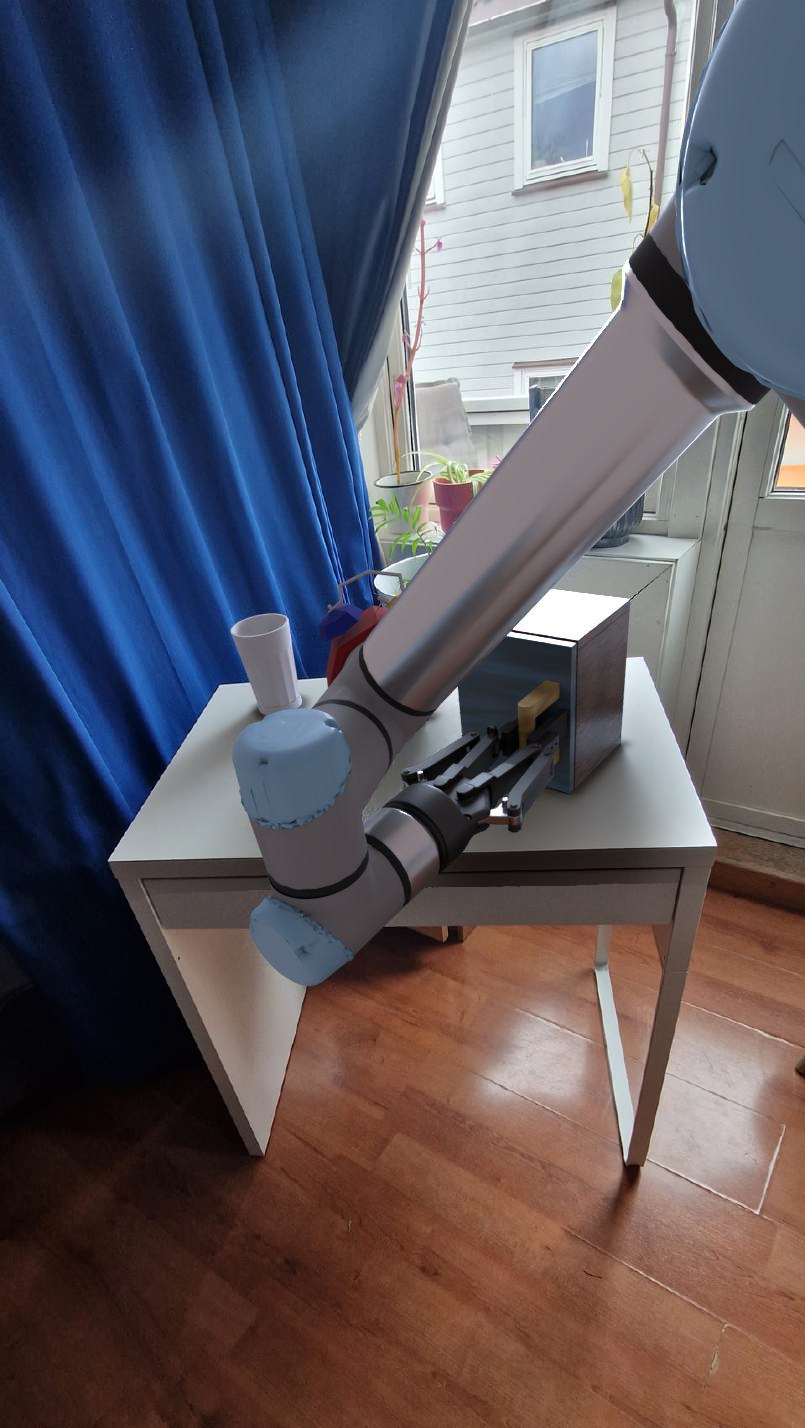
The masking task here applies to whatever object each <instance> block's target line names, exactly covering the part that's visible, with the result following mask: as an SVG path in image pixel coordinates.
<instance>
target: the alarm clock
mask: <svg viewBox="0 0 805 1428" xmlns="http://www.w3.org/2000/svg"><path fill="white" fill-rule="evenodd" d="M370 574H371V575H378V576H387V577H395V578H396V577H397V578H398V582H399V586H400V591H401V592H402V591H403V590H404V588H405V583H404V579H403V575H402V574H403V573H400V572H391V571H384V570H383V571H382V570H376V569H375V570H374V569H367V570H365V571H363V572H361V573H359V574H357V575H354V576H353V577H351V578H349V579H347V580H345V581H343V582H341V583H339V584H337V592H338V601H337V602H336V603H335V604H334V605H333V606H332V605H331V604H328V605H327V608H328V611H327V613H326V614H324V615H323V616H322V618H321V620H320V622H319V624H318V626H319V628H318V630H319V639H320V640H322V641H325V642H329V641H331V645H330V650H329V655H328V661H327V666H326V671H325V676H326V684H327V688H328V687H329V686H330V685H331V684H332V682H333V681H334V680H335V679H336V677H337V676H338V674H339V673H340V672H341V671H342V669H343V668H344V667H345V665H346V664H347V663H348V662H349V660H350V659H351V658H352V656H353V655H354V654H355V653H356V651H357V650H358V649H359V648H360V647H361V646H362V644H363V643H364V642H365V641H366V639H367V637H368V636H369V634H370V633H371V632H372V631H373V629H374V628H375V627H376V625H377V624H378V623H379V621H380V620H381V619H382V617H383V616H384V615H385V613H386V612H387V611H388V609H389V608H390V607H391V606H392V604H393V603H394V602H395V600H396V599H397V598H398V596H399V595H400V594H401V592H398V593H396V595H394V596H393V597H392V598H391V599H388V598H386V597H384V596H383V595H381V594H379V595H378V596H377V600H378V601H380V602H379V605H371V606H369V607H368V608H366V609H365V610H364V609H362V608H359V607H357V606H355V605H354V604H351V603H348V602H344V598H343V597H344V596H343V589H342V588H343V587H345V586H347V585H349V584H351V583H353V582H355V581H357V580H359V579H360V578H361V579H362V578H363V577H365V576H366V575H370ZM382 604H385V605H384V607H381V606H382Z"/></svg>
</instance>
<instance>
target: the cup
mask: <svg viewBox="0 0 805 1428" xmlns="http://www.w3.org/2000/svg"><path fill="white" fill-rule="evenodd" d="M230 635H231V638H232V640H233V642H234V645H235V648H236V650H237V653H238V655H239V657H240V660H241V662H242V665H243V668H244V670H245V673H246V676H247V679H248V681H249V684H250V686H251V689H252V691H253V695H254V698H255V701H256V703H257V706H258V707H257V708H258V710H259V713H261V714H262V715H264V716H266V715H269V714H272V713H275V712H278V711H282V710H288V709H297V708H300V707H301V705H302V703H303V700H302V696H301V691H300V688H299V682H298V676H297V669H296V662H295V656H294V650H293V644H292V643H293V641H292V635H291V627H290V621H289V617H287V615H285V614H281V613H263V614H257V615H253V616H250V617H246V618H244V619H242V620H240V621H238V622H236V623H235V624H233V625H232V626H231V628H230Z"/></svg>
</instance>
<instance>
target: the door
mask: <svg viewBox="0 0 805 1428" xmlns="http://www.w3.org/2000/svg"><path fill="white" fill-rule="evenodd" d="M576 652H577V643H573V642H567V641H561V640H555V639H549V638H543V637H537V636H531V635H525V634H519V633H513V632H510V633H509V634H508V635H507V636H506V637H505V638H504V639H503V640H502V641H501V642H500V643H499V644H498V645H497V646H496V647H495V648H494V649H493V651H492V652H491V653H490V654H489V655H488V656H487V657H486V658H485V659H484V660H483V661H482V662H481V663H480V664H479V665H478V666H477V667H476V668H475V669H474V670H473V671H472V672H471V673H470V674H469V675H468V676H467V678H466V679H465V680H464V681H463V682H462V683H461V684H460V685H459V686H458V687H457V694H458V705H459V714H460V715H459V717H460V728H461V737H463V736H464V735H466V734H467V733H469V732H472V731H477V732H479V733H480V736H485V735H486V734H487V728H486V727H488V726H490V725H495V726H497V727H498V729H499V728H501V727H502V726H503V725H504V724H506V723H508V722H510V721H511V722H513V721H514V720H516V719H517V718H518V726H519V749H517V750H516V751H515V752H514V753H513V754H512V755H511V756H509V757H506V756H502V751H501V752H500V756H499V758H498V759H497V760H496V761H495V762H494V763H493V764H492V766H491V767H490V768H489V769H488V770H487V771H492V770H494V769H495V768H496V767H498V766H499V765H501V764H502V763H504V762H505V761H506V760H508V759H509V758H511V757H512V756H513V755H515V754H516V753H518V752H519V751H521V750H522V749H523V748H525V747H526V738H527V737H528V736H529V735H531V734H532V733H533V732H534V731H535V718H536V717H537V716H538V715H539V714H541V713H542V724H543V723H544V722H546V721H547V720H548V719H549V718H550V717H551V716H553V715H554V714H555V713H556V712H557V711H558V710H559V709H565V710H567V734H566V735H565V736H564V737H563V738H562V739H561V740H560V741H559V746H558V749H557V750H556V751H555V752H554V777H553V778H552V780H551V781H550V782H549V784H548V785H547V786H546V788H549V789H553V790H556V791H559V792H563V793H566V794H570V793H572V792H573V791H574V790H575V789H574V747H575V700H576ZM466 749H467V751H469V746H468V747H467V748H466Z"/></svg>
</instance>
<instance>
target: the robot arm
mask: <svg viewBox="0 0 805 1428" xmlns="http://www.w3.org/2000/svg"><path fill="white" fill-rule="evenodd" d="M678 158H679V159H678V165H677V166H678V167H677V174H676V182H675V190H674V192H673V193H672V195H671V198H670V199H669V200H668V201H667V204H666V206H665V207H664V209H663V210H662V212H661V213H660V214H659V217H658V218H657V219H656V221H655V222H654V224H653V225H652V227H651V228H650V229H649V231H648V232H647V233H646V235H645V236H644V237H643V239H642V240H641V242H640V243H639V244H638V246H637V247H636V248H635V249H634V251H633V252H632V254H631V255H630V256H629V258H628V259H627V260H626V262H625V263H624V264H623V267H622V285H621V286H622V287H621V299H620V303H619V305H618V306H617V308H616V309H615V311H614V312H613V313H612V314H611V315H610V317H609V319H608V320H607V321H606V323H605V324H604V325H603V326H602V328H601V329H600V331H599V332H598V333H597V335H595V337H594V338H593V340H592V341H591V342H590V344H589V345H588V346H587V348H586V349H585V350H584V352H583V353H582V354H581V356H580V357H579V358H578V359H577V361H576V362H575V363H574V364H573V366H572V367H571V369H569V371H568V373H567V374H566V375H565V377H563V379H562V380H561V382H560V383H559V384H558V385H557V387H556V388H555V390H554V391H553V392H552V394H551V395H550V396H549V398H548V399H547V400H546V402H545V403H544V404H543V405H542V406H541V408H540V410H539V411H538V412H537V414H535V416H534V417H533V419H532V420H531V421H530V423H529V424H528V425H527V427H526V428H525V429H524V431H523V432H522V433H521V434H520V435H519V437H518V439H517V440H516V441H515V442H514V444H513V445H512V446H511V447H510V449H508V452H506V454H505V455H504V456H503V458H502V460H501V461H500V462H499V463H498V464H497V466H496V468H495V469H493V471H492V473H491V474H490V475H489V476H488V478H487V479H486V480H485V481H484V483H483V484H482V486H481V487H480V488H479V489H478V491H476V494H475V495H474V496H473V497H472V499H471V500H470V502H468V504H467V506H466V507H465V508H464V509H463V510H462V512H461V513H460V514H459V516H458V517H457V518H456V520H455V521H454V522H453V524H452V525H451V527H450V528H449V529H448V531H447V532H446V533H445V534H444V536H443V537H442V538H441V540H439V542H438V544H437V545H436V546H435V547H434V548H433V550H432V551H431V552H430V554H429V555H428V557H427V558H426V559H425V561H424V562H423V563H422V565H421V566H420V567H419V568H418V570H417V571H416V572H415V574H414V575H413V577H412V578H411V579H410V581H409V582H408V583H407V584H406V586H404V590H403V591H401V592H400V593H401V594H400V595H399V596H398V598H397V599H396V600H395V602H394V603H393V604H392V606H391V607H390V608H389V609H388V611H387V612H386V613H385V615H384V616H383V617H382V619H381V620H380V621H379V623H378V624H377V625H376V627H375V628H374V629H373V631H372V632H371V633H370V634H369V636H368V637H367V639H366V641H365V642H364V643H363V644H362V646H361V647H360V648H359V649H358V650H357V651H356V653H355V654H354V655H353V656H352V658H351V659H350V660H349V662H348V663H347V664H346V665H345V667H344V668H343V669H342V671H341V672H340V673H339V674H338V676H337V677H336V679H335V680H334V681H333V682H332V684H331V685H330V686H329V687H328V686H327V689H326V690H325V691H324V692H323V693H322V695H321V696H320V697H319V698H318V699H317V701H316V703H315V704H314V705H313V706H312V707H311V708H306V707H305V708H302V707H298V708H297V709H288V710H282V711H278V712H275V713H272V714H269V715H264V717H263V718H262V720H259V721H256V722H252V723H250V724H248V725H247V726H246V727H245V728H243V730H241V731H240V733H239V734H238V735H237V737H236V739H235V740H234V743H233V746H232V750H231V751H232V752H231V760H232V765H233V768H234V771H235V775H236V779H237V783H238V786H239V790H238V792H239V795H240V803H241V805H242V807H243V809H244V812H245V813H246V814H247V817H248V820H249V823H250V825H251V829H252V831H253V835H254V837H255V840H256V842H257V845H258V848H259V851H260V855H261V857H262V860H263V863H264V866H265V869H266V872H267V879H268V883H269V886H270V889H271V895H269V896H266V897H263V898H262V901H261V903H260V904H259V905H258V906H257V907H255V908H254V909H253V910H252V912H251V913H250V916H249V924H248V928H249V934H250V936H251V939H252V941H253V943H254V945H255V946H256V948H257V950H258V951H259V953H260V954H261V955H262V957H263V958H264V960H266V961H267V963H269V965H270V966H271V967H272V968H273V969H274V970H275V971H277V973H279V974H280V975H281V976H283V977H284V978H286V979H288V980H289V981H291V982H293V983H294V984H297V985H299V986H303V987H304V986H305V987H314V986H317V985H319V984H321V983H323V982H324V981H325V980H327V979H328V978H329V977H330V976H332V975H333V974H334V973H336V971H338V970H339V969H341V968H342V966H344V965H345V964H347V962H351V961H352V960H354V958H355V955H356V954H357V953H358V952H359V951H360V950H362V949H363V947H365V945H367V944H368V943H369V942H370V941H371V940H372V939H373V938H374V937H375V936H376V935H377V934H378V933H379V932H380V931H381V930H382V929H383V928H384V927H385V926H386V925H388V923H389V922H390V921H392V919H394V918H395V917H396V915H398V914H399V913H400V912H401V911H402V910H403V909H404V908H405V907H406V906H407V905H408V904H409V903H411V901H412V900H414V899H415V898H416V897H417V896H418V895H419V894H420V893H421V892H422V891H423V890H424V889H425V888H426V887H427V886H428V885H430V883H431V882H433V881H434V880H435V878H436V877H437V876H438V874H441V873H442V872H443V871H445V870H446V869H447V867H448V866H450V865H451V864H452V863H453V862H454V861H455V860H457V858H459V856H460V855H462V853H464V852H465V850H466V848H467V847H468V845H469V843H470V841H471V840H472V839H473V837H474V836H476V835H477V834H480V833H482V832H483V833H484V832H485V831H487V830H488V829H489V828H490V827H491V825H502V826H503V825H504V826H507V831H508V832H510V833H512V834H515V833H520V832H521V831H522V830H523V829H522V828H523V820H524V817H525V816H526V815H527V813H528V811H530V809H531V808H532V806H533V805H534V804H535V802H536V801H537V800H538V799H539V797H540V796H541V794H542V793H543V792H544V791H545V789H546V788H547V787H546V786H547V785H548V784H549V782H550V781H551V780H552V778H553V777H554V752H555V751H556V750H557V749H558V746H559V741H560V740H561V739H562V738H563V737H564V736H565V735H566V734H567V710H565V709H559V710H558V711H557V712H556V713H555V714H554V715H553V716H551V717H550V718H549V719H548V720H547V721H546V722H544V723H543V724H542V713H541V714H539V715H538V716H537V717H536V718H535V731H534V732H533V733H532V734H531V735H529V736H528V737H527V738H526V747H525V748H523V749H522V750H521V751H519V752H518V753H516V754H515V755H513V756H512V757H511V758H509V759H508V760H506V761H505V762H504V763H502V764H501V765H499V766H498V767H496V768H495V769H494V770H490V771H489V770H488V769H489V768H490V767H491V766H492V764H493V763H494V762H495V761H496V760H497V759H498V758H499V756H500V752H501V751H502V756H506V757H509V756H511V755H512V754H513V753H514V752H515V751H516V750H517V749H519V726H518V718H517V719H516V720H514V721H513V722H511V721H510V722H508V723H506V724H504V725H503V726H502V727H501V728H499V729H498V727H497V726H495V725H490V726H488V727H486V728H487V734H486V735H485V736H480V733H479V732H477V731H472V732H469V733H467V734H466V735H464V736H463V737H462V736H461V737H459V738H458V739H456V740H454V741H453V742H451V743H450V744H448V745H446V746H445V747H443V748H442V749H440V750H439V751H437V752H436V753H434V754H432V755H431V756H429V757H428V758H426V759H425V760H423V761H422V762H420V763H416V764H414V765H410V766H408V767H405V768H403V769H401V770H400V772H399V773H400V779H401V785H402V790H401V791H400V792H399V793H397V794H396V795H395V796H394V797H393V798H391V799H390V800H389V801H387V802H386V803H385V804H384V805H383V806H382V808H378V809H377V810H376V811H374V812H373V813H372V814H370V815H369V816H368V817H366V819H364V821H363V813H364V809H366V806H367V805H368V804H369V802H370V800H371V799H372V797H373V795H374V794H375V792H376V790H377V789H378V787H379V785H380V784H381V783H382V780H383V779H384V777H385V776H386V774H387V773H388V771H389V769H390V768H391V766H392V764H393V762H394V761H395V759H396V758H397V757H398V756H399V754H400V752H401V750H402V749H403V748H404V747H405V745H406V744H407V743H408V741H409V740H410V739H411V738H412V737H413V736H414V734H416V733H417V731H418V730H419V729H420V728H421V727H422V726H423V725H424V724H425V723H426V722H427V721H428V720H429V719H430V718H431V716H433V715H434V713H435V712H436V711H437V710H438V709H439V707H440V706H441V705H442V704H443V702H445V701H446V699H448V697H449V696H451V694H452V693H453V692H454V691H456V689H458V686H459V685H460V684H461V683H462V682H463V681H464V680H465V679H466V678H467V676H468V675H469V674H470V673H471V672H472V671H473V670H474V669H475V668H476V667H477V666H478V665H479V664H480V663H481V662H482V661H483V660H484V659H485V658H486V657H487V656H488V655H489V654H490V653H491V652H492V651H493V649H494V648H495V647H496V646H497V645H498V644H499V643H500V642H501V641H502V640H503V639H504V638H505V637H506V636H507V635H508V634H509V633H510V632H511V631H512V630H513V629H514V628H515V627H516V626H517V625H518V624H519V622H520V621H521V620H522V619H523V618H524V617H525V616H526V615H527V614H528V613H529V612H530V611H531V610H532V609H533V608H534V607H535V606H536V605H537V604H538V603H539V602H540V601H541V600H542V599H543V598H544V597H545V595H546V594H547V593H548V592H549V591H550V590H551V589H552V590H553V589H554V587H555V586H556V585H557V584H558V583H559V582H561V580H562V579H563V578H564V577H565V576H566V575H567V574H568V573H569V572H570V571H571V570H572V569H573V568H574V567H575V565H576V564H578V562H579V561H580V560H581V559H583V557H584V556H585V555H586V554H588V552H589V551H591V549H592V548H593V547H594V546H595V545H596V544H597V543H598V542H599V541H600V540H601V539H602V538H603V536H604V535H606V533H607V532H608V531H609V530H610V529H611V528H612V527H613V526H614V525H615V524H616V523H617V522H618V521H619V520H620V519H621V518H622V517H624V515H625V514H626V513H627V511H628V510H630V508H632V506H634V504H635V503H636V502H637V501H638V500H639V499H640V498H641V497H642V496H643V495H645V493H646V492H647V491H648V490H649V489H650V488H651V487H652V486H653V485H654V484H655V483H656V482H657V481H658V479H660V478H661V476H662V475H663V474H664V473H665V472H666V471H667V470H668V469H669V468H670V467H671V466H672V465H673V464H674V463H675V462H676V461H677V460H678V458H680V457H681V455H683V454H684V453H685V452H686V450H687V449H688V448H690V446H691V445H692V444H693V443H694V442H696V440H697V439H698V438H699V437H700V436H701V435H702V434H703V433H704V432H705V430H706V429H708V427H710V426H711V424H712V423H713V422H715V420H717V418H718V417H719V416H722V415H725V414H732V413H741V412H749V411H752V409H754V408H755V407H756V406H757V405H758V404H759V403H760V401H762V399H763V398H765V396H767V395H768V393H770V392H771V390H773V392H774V393H775V395H777V397H778V398H779V399H780V400H781V402H783V404H784V406H785V407H786V409H788V410H789V412H790V413H791V414H792V416H794V418H795V419H796V420H797V422H798V423H799V424H800V426H802V428H803V429H804V430H805V0H738V1H737V2H736V4H735V6H734V8H733V10H732V11H731V13H730V14H729V16H728V17H727V19H726V20H724V22H723V24H722V26H721V28H720V30H719V31H718V33H717V36H716V39H715V43H714V45H713V48H712V50H711V52H710V54H709V56H708V58H707V60H706V62H705V64H704V67H703V69H702V71H701V75H700V78H699V82H698V85H697V88H696V91H695V94H694V96H693V99H692V102H691V104H690V107H689V110H688V113H687V118H686V122H685V126H684V130H683V134H682V138H681V145H680V149H679V157H678ZM468 746H469V751H467V749H466V748H467V747H468ZM487 771H489V772H487ZM506 795H508V796H507V797H506ZM500 800H501V803H499V801H500ZM498 803H499V805H498Z"/></svg>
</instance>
